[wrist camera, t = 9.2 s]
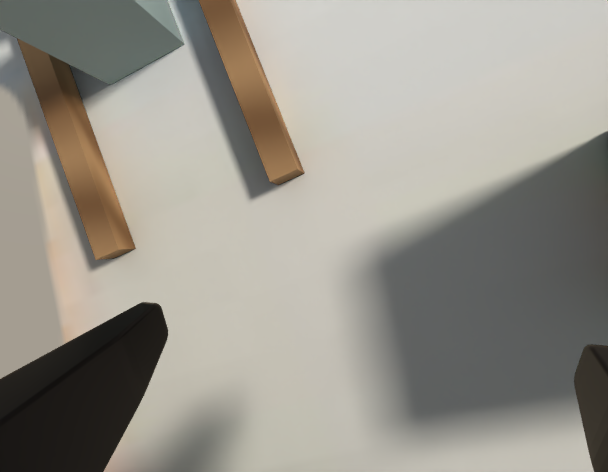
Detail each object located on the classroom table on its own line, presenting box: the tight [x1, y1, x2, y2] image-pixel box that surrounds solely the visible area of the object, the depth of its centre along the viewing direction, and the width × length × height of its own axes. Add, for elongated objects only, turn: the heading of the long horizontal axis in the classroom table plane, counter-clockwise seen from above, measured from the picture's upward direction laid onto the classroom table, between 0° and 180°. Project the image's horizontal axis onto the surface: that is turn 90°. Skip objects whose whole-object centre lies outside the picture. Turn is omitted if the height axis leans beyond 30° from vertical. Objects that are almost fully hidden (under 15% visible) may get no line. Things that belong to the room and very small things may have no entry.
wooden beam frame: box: [17, 0, 304, 260], centre depth 22 cm, size 17×12×4 cm
